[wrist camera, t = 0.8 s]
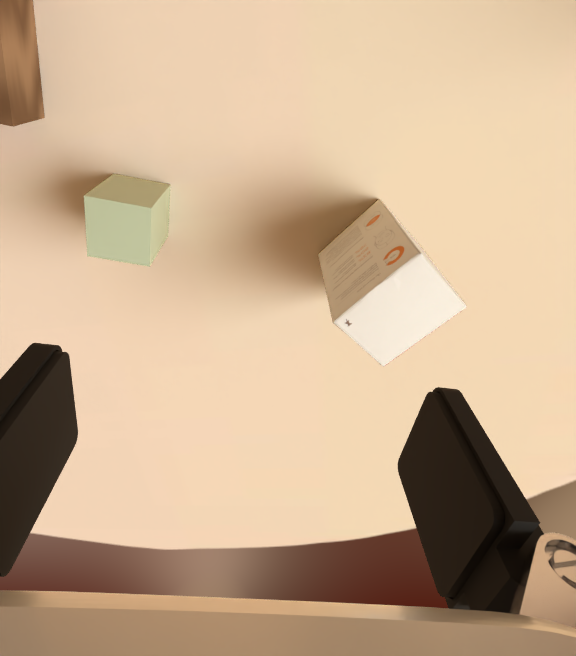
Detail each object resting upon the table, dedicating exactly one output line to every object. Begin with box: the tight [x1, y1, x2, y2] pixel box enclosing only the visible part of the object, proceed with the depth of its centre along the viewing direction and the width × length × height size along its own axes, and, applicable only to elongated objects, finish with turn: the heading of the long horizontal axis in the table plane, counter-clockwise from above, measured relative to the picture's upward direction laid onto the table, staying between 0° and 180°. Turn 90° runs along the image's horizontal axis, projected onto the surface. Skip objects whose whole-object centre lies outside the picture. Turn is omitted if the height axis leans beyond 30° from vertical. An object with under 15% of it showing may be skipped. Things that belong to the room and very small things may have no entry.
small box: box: [318, 199, 466, 367], centre depth 37 cm, size 8×6×13 cm
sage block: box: [84, 174, 170, 267], centre depth 36 cm, size 5×5×7 cm
